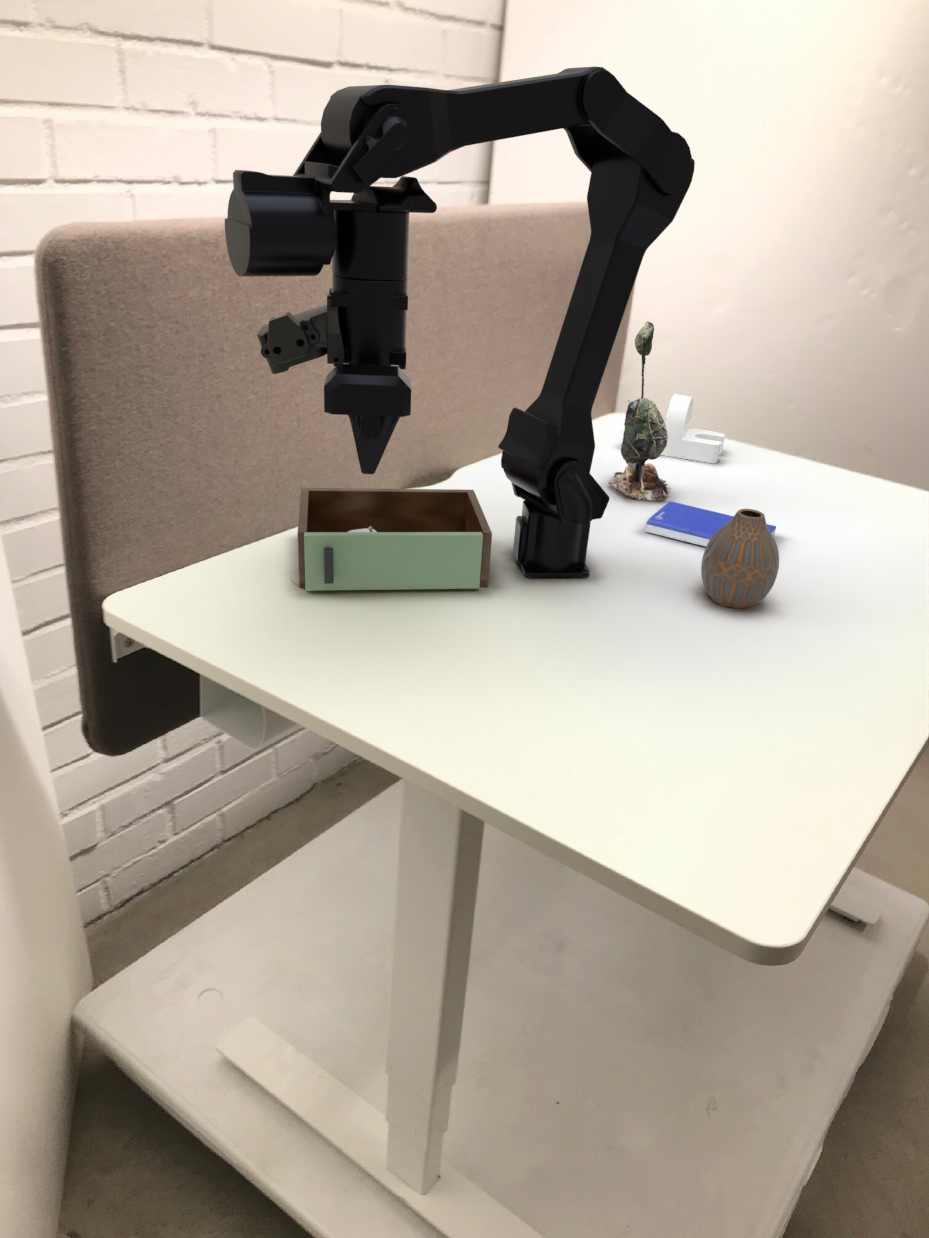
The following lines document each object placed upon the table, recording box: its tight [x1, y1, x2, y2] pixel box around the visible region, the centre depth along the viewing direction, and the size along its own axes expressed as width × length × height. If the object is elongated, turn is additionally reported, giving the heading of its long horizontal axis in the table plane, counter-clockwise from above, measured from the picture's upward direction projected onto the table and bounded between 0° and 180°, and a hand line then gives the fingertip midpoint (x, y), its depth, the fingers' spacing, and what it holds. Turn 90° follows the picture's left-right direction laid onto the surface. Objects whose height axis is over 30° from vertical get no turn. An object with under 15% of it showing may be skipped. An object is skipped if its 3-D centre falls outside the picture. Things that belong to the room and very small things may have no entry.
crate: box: [297, 487, 493, 589], centre depth 88 cm, size 18×12×6 cm
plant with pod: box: [607, 320, 671, 502], centre depth 108 cm, size 8×11×20 cm
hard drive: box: [644, 500, 777, 547], centre depth 100 cm, size 2×8×12 cm
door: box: [304, 532, 483, 592], centre depth 82 cm, size 16×2×5 cm, turn 99°
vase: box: [700, 508, 780, 609], centre depth 84 cm, size 7×7×9 cm
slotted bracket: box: [660, 393, 726, 464], centre depth 128 cm, size 13×7×8 cm, turn 69°
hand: (368, 472), depth 76 cm, fingers closed
